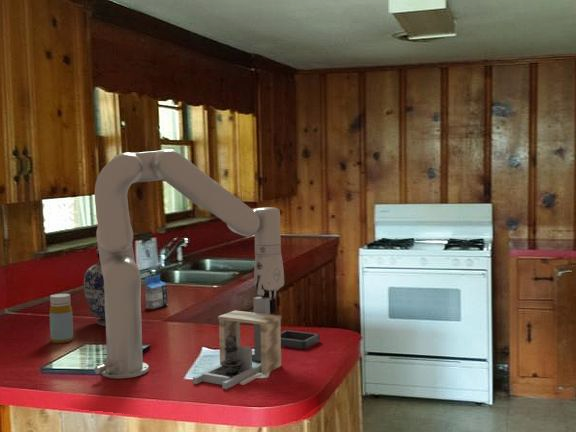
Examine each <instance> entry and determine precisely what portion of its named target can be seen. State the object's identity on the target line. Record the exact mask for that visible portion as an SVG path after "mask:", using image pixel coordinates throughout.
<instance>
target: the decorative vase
mask: <svg viewBox="0 0 576 432" xmlns="http://www.w3.org/2000/svg"><path fill="white" fill-rule="evenodd" d="M95 252H96V255H97V258H98V259H99V260H98V262H97V263H96V264H93V265H91V266H89V268H88V269H87V270H86V272H85V273H84V277H83V292H84V296H85V299H86V302H87V303H88V308H89V310H90V313H91V316H95V317H96V318H98V319H97V321H96V324H97V325H99V326H101V327H106V319H105V294H104V279H103V275H102V269H101V263H100V257H99V250H98V248H97V249H96V250H95Z"/></svg>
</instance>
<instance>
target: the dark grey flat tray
mask: <svg viewBox="0 0 576 432" xmlns="http://www.w3.org/2000/svg"><path fill="white" fill-rule="evenodd" d="M320 336H321V335H320V333H313V332H312V333H311V332H303V331H298V330H297V331H296V330H288V329H285V330H284V331H282V332H281V346H284V347H283V348H287V347H292V348H291V349H295V348H298V349H297V350H302V349H305V350H307V349H309V348H311V347H313V346H314V345H313V344H315V343H317V342H319V341H320V340H321V339H320ZM319 343H320V342H319ZM317 344H318V343H317ZM312 345H313V346H312ZM315 345H316V344H315ZM310 346H311V347H310ZM308 347H309V348H308Z"/></svg>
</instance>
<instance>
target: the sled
mask: <svg viewBox="0 0 576 432" xmlns="http://www.w3.org/2000/svg"><path fill="white" fill-rule="evenodd" d="M252 303H253V313H262V314H271V313H270V298H267V297H262V296H256V297H253V301H252ZM253 342H254V343H253V346H254V349H253V347H249V346H243V345H242V346H241V345H240V346H237V345H236V346H237V348H238V349H237V358H238V360H241V361H242V362H243V363H242V364H241V369H240V370H239V371H238V372H239V373H240V374H238V375H236V376H234V377H232V378H230V377H228V376H223V374H220V373H223V372H225V371H224V370H223V368H222V365H221V364H220V363H219V365H217V366H215V367H212V368H210V369H208V370H205V371H203V372H202V373H200V374H196V375H194V376H193V377H192V382H193V383H192V384H195V385H197V384H200V383H201V382H202V383H203V382H205V383H209V384H210V383H211V384H216V385H222V389H223V390H228V389H230V388H232V387H234V386H235V385H237V384H240V382H241V381H243V380H245V379H247V378H249V377H251V376H253V375H255V374H256V373H261V327H260V324H253ZM225 348H226V345H225ZM225 358H226V350H225ZM253 361H256V362H257V361H258V362H260V363H258V364H256V365H253Z"/></svg>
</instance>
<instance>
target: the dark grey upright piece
mask: <svg viewBox="0 0 576 432" xmlns="http://www.w3.org/2000/svg"><path fill="white" fill-rule="evenodd" d="M237 349H238V348H237V346H236V337H235V336H234V335H232V332H230V335H228V336H227V337H226V348H225V350H226V358H225V360H224V361H222V362H221V365H222V368H223V370H224V371H223V372H224V373H223V374H222V375H223V376H228V377H230V378H232V377H234V376H236V375H238V374H240V373H239V372H238V371H239V370H240V369H241V364H242V363H243V362H242V361H241V360H238V358H237Z"/></svg>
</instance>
